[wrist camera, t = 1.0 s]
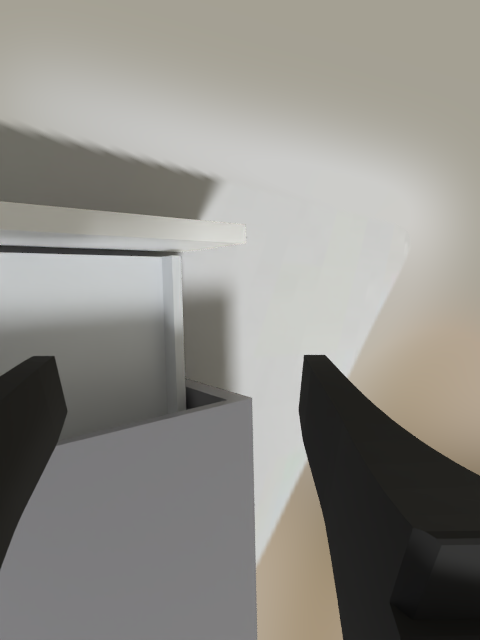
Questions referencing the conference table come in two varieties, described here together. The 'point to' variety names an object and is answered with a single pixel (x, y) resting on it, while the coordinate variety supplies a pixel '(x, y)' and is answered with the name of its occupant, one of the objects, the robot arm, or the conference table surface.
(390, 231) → the conference table surface
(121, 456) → the housing
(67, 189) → the conference table surface
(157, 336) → the tray
